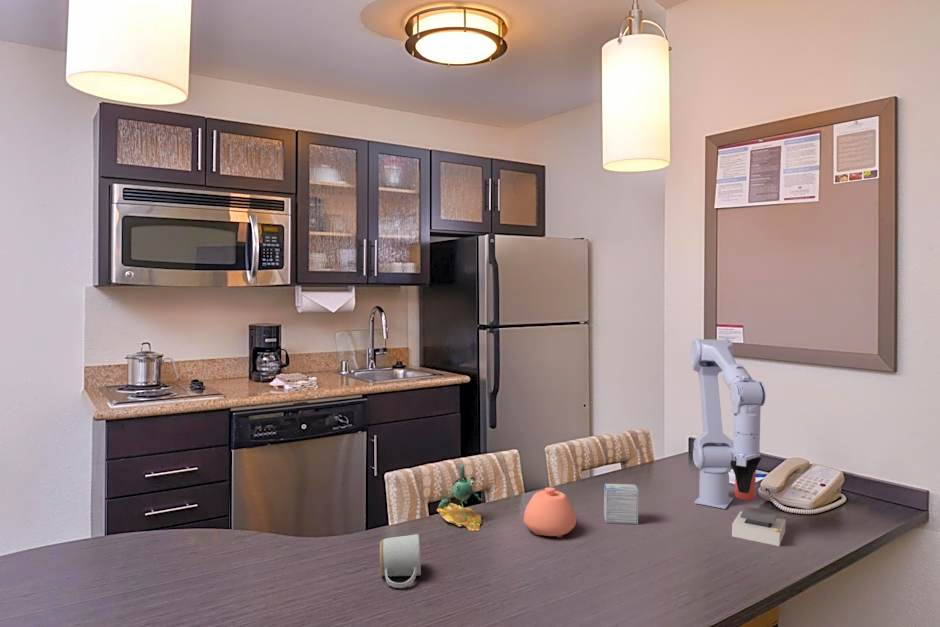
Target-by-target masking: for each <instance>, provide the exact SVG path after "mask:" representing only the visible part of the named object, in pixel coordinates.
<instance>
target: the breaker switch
mask: <svg viewBox="0 0 940 627" xmlns="http://www.w3.org/2000/svg"><path fill="white" fill-rule="evenodd" d="M778 516H779V512H778V511H772V510H768V509H767V510H766V509H763V508H757V507H752V506H745V507H744V509H743V511H742V514H741V516H740V518H745V519H747V523H748V524H753V525H758V526H763V527H768V528H771V523H772V524H774V522H775V520H776V518H778Z"/></svg>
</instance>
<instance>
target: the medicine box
mask: <svg viewBox="0 0 940 627" xmlns="http://www.w3.org/2000/svg"><path fill="white" fill-rule="evenodd" d="M603 487H604V488H603V490H604V491H603V517H604V521H605V522H604V523H605V524H629V525H633V524H635V525H638V524H639V492H640V490H639V489H638V486H637V485H636V484H631V483H630V484H628V483H603Z"/></svg>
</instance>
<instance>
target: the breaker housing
mask: <svg viewBox="0 0 940 627" xmlns="http://www.w3.org/2000/svg"><path fill="white" fill-rule="evenodd" d="M742 512H743V511H741V510H740V511H739V513H738V514H737V516H736V517H735V518H734V520H733V522H732V523H731V527H732V528H731V537H734V538H738V539H744V540H748V541H752V542H758V543H761V544H767V545H771V546H777V547H780V545H781V543H782V541H783V538H784V535H785V534H786V521H787V520H786V519H784V518H779V517H777V518H776V520H775V522H774V524H772V523H771V528H768V527H763V526H758V525H753V524H748V523H747V519H745V518H740V516H741V514H742Z"/></svg>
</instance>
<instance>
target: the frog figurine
mask: <svg viewBox="0 0 940 627" xmlns="http://www.w3.org/2000/svg"><path fill="white" fill-rule="evenodd" d="M459 468H460V469H459V470H460V477H457V480H455V481H454V482H453V484H452V485H453V486H452V490H451V489H447V490H446V494H445V493H444V496H443V498H441V500H440V501H439V504H438V507H437V509H436V512H438V513H439V514H440V516H441V517H442V518H443V519H444V520H445V521H446V522H447V523H451V524H454V525H455V526H457V527H463V526H464V527H465V528H467V529H468V531H471V532H474V531H475V532H476V531H480V529H481V526H480V525H482V514H478V513H476V512H475V511H474V510H473V509H472V508H470V507H464V504H467V502H468V501H467V500H468V499H469V498H470V497H471V496H472V494H473V495H474V496H475V497H476V498H477V499H478V501H482V499H481V497H479V495H478V493H476V492H474V490H473V488H474V486H475V482H476V478H475V477H474V476H471V477H470V481H469V480H468V478H467V476H465V465H463V464H460V466H459ZM449 492H451V493H450V494H448V493H449ZM452 494H453V497H454V498H455V499H457V500H459V502H460V504H461V505H460V504H456V503H453V502H451V497H450V496H451V495H452ZM447 496H448V498H447ZM463 502H464V504H463Z"/></svg>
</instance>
